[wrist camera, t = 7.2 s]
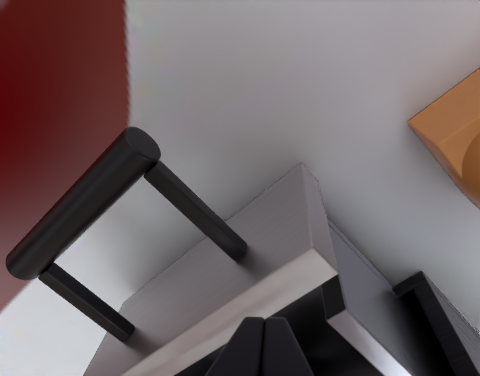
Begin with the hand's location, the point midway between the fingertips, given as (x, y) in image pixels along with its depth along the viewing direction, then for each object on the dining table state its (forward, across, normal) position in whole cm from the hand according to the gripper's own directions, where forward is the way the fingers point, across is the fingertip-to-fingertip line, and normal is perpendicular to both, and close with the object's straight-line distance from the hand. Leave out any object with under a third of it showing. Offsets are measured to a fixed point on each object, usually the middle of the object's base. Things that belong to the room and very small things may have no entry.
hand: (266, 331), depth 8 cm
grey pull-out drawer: (+9, +1, +7) cm, 11 cm away
